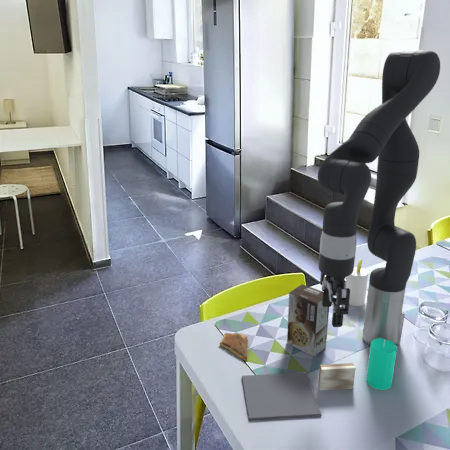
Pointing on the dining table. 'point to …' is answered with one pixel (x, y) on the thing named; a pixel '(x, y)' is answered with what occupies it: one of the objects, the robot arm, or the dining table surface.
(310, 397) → the mat
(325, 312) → the cookie box
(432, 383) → the dining table surface
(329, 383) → the slab
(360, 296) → the candle
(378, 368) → the candle
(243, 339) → the shard
